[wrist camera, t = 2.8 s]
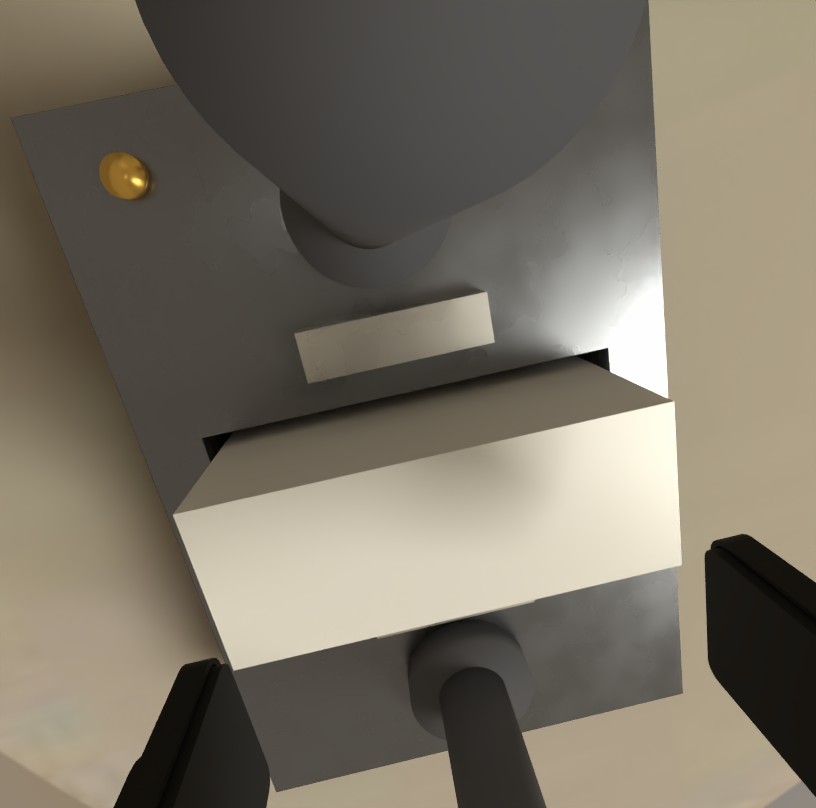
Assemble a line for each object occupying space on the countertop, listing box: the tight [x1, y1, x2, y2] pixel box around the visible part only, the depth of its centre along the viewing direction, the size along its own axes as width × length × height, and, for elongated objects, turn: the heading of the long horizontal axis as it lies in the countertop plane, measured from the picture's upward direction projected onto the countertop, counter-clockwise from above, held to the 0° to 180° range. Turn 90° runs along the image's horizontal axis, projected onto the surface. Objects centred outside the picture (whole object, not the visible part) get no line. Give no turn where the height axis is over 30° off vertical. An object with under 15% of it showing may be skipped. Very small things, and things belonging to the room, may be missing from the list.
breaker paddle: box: [173, 355, 682, 670], centre depth 17 cm, size 5×13×7 cm, turn 102°
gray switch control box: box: [11, 0, 683, 792], centre depth 20 cm, size 26×18×7 cm
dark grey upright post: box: [135, 0, 647, 289], centre depth 9 cm, size 5×5×13 cm
